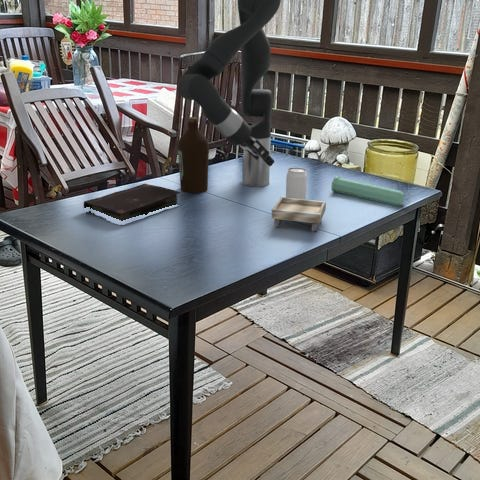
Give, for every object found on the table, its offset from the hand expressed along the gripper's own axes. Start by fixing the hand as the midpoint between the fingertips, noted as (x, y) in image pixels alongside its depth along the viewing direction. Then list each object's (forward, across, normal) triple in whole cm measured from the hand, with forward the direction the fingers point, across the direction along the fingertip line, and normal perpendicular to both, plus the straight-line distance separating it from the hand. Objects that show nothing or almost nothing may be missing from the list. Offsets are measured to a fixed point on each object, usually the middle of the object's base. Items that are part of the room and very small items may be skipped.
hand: (265, 160), depth 181 cm
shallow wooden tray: (+14, -14, +9) cm, 22 cm away
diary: (-14, +18, +38) cm, 44 cm away
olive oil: (+3, +29, +20) cm, 36 cm away
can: (+20, 0, +3) cm, 20 cm away
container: (+39, -4, -15) cm, 42 cm away
